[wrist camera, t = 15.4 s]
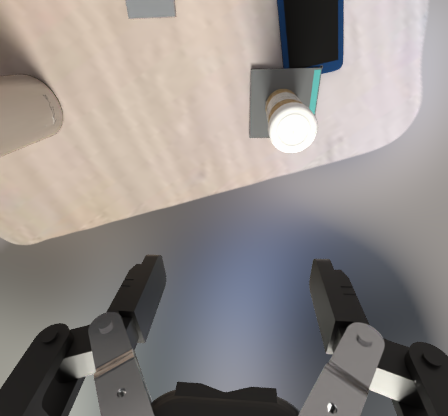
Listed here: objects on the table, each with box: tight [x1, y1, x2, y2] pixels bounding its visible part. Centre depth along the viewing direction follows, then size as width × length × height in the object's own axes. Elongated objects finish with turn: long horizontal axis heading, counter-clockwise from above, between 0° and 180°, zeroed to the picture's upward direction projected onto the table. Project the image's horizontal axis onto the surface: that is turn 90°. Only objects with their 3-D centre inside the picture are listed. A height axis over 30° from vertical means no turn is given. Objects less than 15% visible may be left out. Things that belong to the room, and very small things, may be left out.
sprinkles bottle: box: [265, 89, 318, 153], centre depth 30 cm, size 5×5×14 cm
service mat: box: [250, 68, 322, 138], centre depth 36 cm, size 9×9×1 cm
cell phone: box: [277, 0, 343, 74], centre depth 31 cm, size 7×14×1 cm, turn 13°
